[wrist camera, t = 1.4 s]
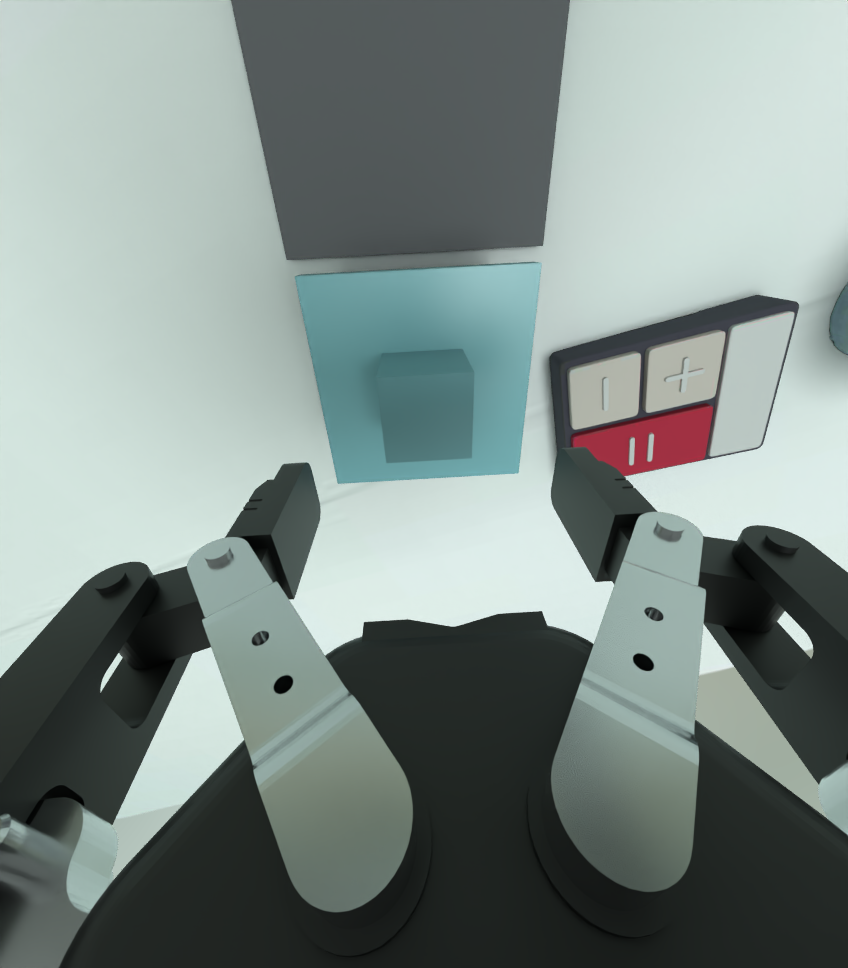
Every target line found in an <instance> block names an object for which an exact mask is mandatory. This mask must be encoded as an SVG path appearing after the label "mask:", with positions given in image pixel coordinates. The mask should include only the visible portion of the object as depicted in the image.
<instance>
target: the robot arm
mask: <svg viewBox="0 0 848 968" xmlns="http://www.w3.org/2000/svg"><path fill="white" fill-rule="evenodd" d="M551 500H552V504H553V507H554V509H555V511H556V513H557V514H558V516H559V518H560V520H561V522H562V523H563V525H564V527H565V529H566V530H567V532H568V534H569V536H570V538H571V539H572V541H573V543H574V545H575V547H576V548H577V550H578V552H579V554H580V555H581V557H582V559H583V561H584V563H585V564H586V566H587V568H588V570H589V571H590V573H591V575H592V577H593V579H594V580H595V582H602V581H612V582H613V583H614V588H613V591H612V593H611V596H610V599H609V602H608V605H607V608H606V611H605V614H604V616H603V619H602V622H601V625H600V628H599V631H598V634H597V637H596V639H595V642H594V644H593V643H591V642H589V641H588V640H586V639H584V638H582V637H580V636H578V635H576V634H574V633H571V632H568V631H566V630H563V629H559V628H556V627H552V626H547V624H546V621H545V619H544V616H543V613H542V611H539V612H523V613H506V614H497V615H493V616H490V617H487V618H483V619H480V620H477V621H473V622H470V623H467V624H464V625H460V626H456V627H450V626H444V625H438V624H432V623H426V622H420V621H414V620H392V621H375V622H364V627H363V635H362V637H360V638H356V639H354V640H352V641H349V642H347V643H345V644H343V645H341V646H339V647H337V648H336V649H334V650H333V651H331V652H330V653H328V654H327V655H326V656H325V655H324V654H323V652H322V650H321V649H320V647H319V646H318V644H317V643H316V641H315V640H314V638H313V636H312V635H311V633H310V632H309V630H308V629H307V627H306V626H305V624H304V622H303V621H302V619H301V618H300V616H299V615H298V613H297V612H296V610H295V608H294V607H293V605H292V604H291V602H290V601H289V599H294V598H295V595H296V592H297V589H298V586H299V582H300V579H301V576H302V573H303V570H304V567H305V564H306V561H307V558H308V555H309V552H310V549H311V546H312V542H313V539H314V536H315V533H316V530H317V527H318V524H319V521H320V503H319V498H318V494H317V490H316V486H315V482H314V478H313V474H312V470H311V467H310V465H309V463H291V464H283V465H282V467H281V468H280V470H279V472H278V473H277V475H276V477H275V479H274V480H267V481H266V482H265V483H263V484H262V485H261V486H259V487H258V488H257V489H255V491H254V493H253V494H252V496H251V497H250V499H249V502H247V504H246V505H245V507H244V508H243V509H244V511H242V512H241V513H240V515H239V516H238V518H237V519H236V521H235V523H234V524H233V526H232V527H231V529H230V531H229V532H228V534H227V535H226V537H225V538H222V539H218V540H215V541H213V542H211V543H208V544H206V545H205V546H203V547H201V548H200V549H199V550H197V551H196V552H195V553H194V554H193V555H192V556H191V558H190V559H189V561H188V563H187V566H186V567H182V568H179V569H175V570H171V571H168V572H164V573H160V574H157V575H153V574H152V572H151V571H150V569H149V568H148V566H147V565H146V564H144V563H141V562H128V563H123V564H119V565H116V566H113V567H111V568H108V569H106V570H104V571H102V572H100V573H99V574H97V575H95V576H94V577H92V578H91V579H90V580H88V581H87V582H86V583H85V584H84V585H83V586H82V587H81V588H80V589H79V590H78V591H77V592H76V593H75V595H74V596H73V597H72V598H71V599H70V600H69V601H68V602H67V604H66V605H65V606H64V607H63V608H62V609H61V610H60V611H59V613H58V614H57V615H56V616H55V617H54V618H53V619H52V620H51V622H50V623H49V624H48V625H47V626H46V627H45V628H44V629H43V631H42V632H41V633H40V634H39V635H38V636H37V637H36V638H35V640H34V641H33V642H32V643H31V644H30V645H29V646H28V647H27V649H26V650H25V651H24V652H23V653H22V654H21V655H20V656H19V658H18V659H17V660H16V661H15V662H14V663H13V664H12V665H11V666H10V668H9V669H8V670H7V671H6V672H5V673H4V674H3V675H2V677H1V678H0V968H848V572H846V571H845V570H844V569H842V568H841V567H840V566H839V565H837V564H836V563H835V562H834V561H832V560H831V559H830V558H829V557H827V556H826V555H825V554H823V553H822V552H821V551H820V550H818V549H817V548H816V547H815V546H813V545H812V544H811V543H809V542H808V541H806V540H805V539H803V538H801V537H799V536H797V535H795V534H793V533H790V532H788V531H785V530H782V529H778V528H775V527H769V526H759V525H757V526H749V527H747V528H745V529H744V530H743V531H742V533H741V534H740V536H739V538H738V540H737V541H732V540H725V539H718V538H711V537H704V536H703V535H702V533H701V531H700V530H699V529H698V528H697V527H696V526H695V525H694V524H693V523H691V522H689V521H688V520H686V519H684V518H682V517H679V516H676V515H673V514H669V513H664V512H657V511H656V510H655V509H654V507H653V506H652V505H651V504H650V503H649V502H648V501H647V500H646V499H645V498H644V497H643V496H642V495H641V494H640V493H639V492H638V491H637V490H636V488H633V485H632V484H631V483H630V482H629V481H628V480H626V478H625V477H624V476H623V475H622V474H621V473H620V472H619V471H618V469H616V468H615V467H613V466H611V465H609V464H607V463H606V462H604V461H598V460H597V459H596V458H595V457H594V456H593V454H592V453H591V452H590V451H589V450H588V449H587V448H586V447H571V448H560V449H559V451H558V453H557V458H556V464H555V470H554V475H553V481H552V487H551ZM784 611H786V612H787V613H788V614H789V615H790V616H791V617H792V618H793V619H794V620H795V621H796V622H797V623H798V625H799V626H800V627H801V628H802V629H803V630H804V631H805V632H806V633H807V634H808V636H809V638H810V639H811V642H812V644H813V650H814V652H813V656H812V658H811V659H810V657H809V656H808V655H807V654H806V653H805V652H804V651H803V650H802V648H801V647H800V646H799V645H798V644H797V643H796V642H795V641H794V640H793V639H792V638H791V636H790V635H789V634H788V633H787V632H786V631H785V630H784V629H783V628H782V627H781V625H780V624H779V623H778V622H777V621H778V619H779V618H780V617H781V615H782V614H783V613H784ZM703 623H704V625H705V626H706V627H707V629H708V630H709V632H710V633H711V634H712V636H713V637H714V639H715V640H716V641H717V643H718V644H719V646H720V647H721V648H722V650H723V651H724V653H725V654H726V655H727V657H728V658H729V660H730V661H731V662H732V664H733V665H734V667H735V668H736V669H737V671H738V672H739V674H740V675H741V676H742V678H743V679H744V681H745V682H746V683H747V685H748V686H749V687H750V689H751V690H752V692H753V693H754V695H755V696H756V697H757V699H758V700H759V701H760V703H761V704H762V706H763V707H764V709H765V710H766V711H767V713H768V714H769V715H770V717H771V718H772V720H773V721H774V722H775V724H776V725H777V726H778V728H779V730H780V731H781V732H782V734H783V735H784V737H785V738H786V739H787V741H788V742H789V744H790V745H791V746H792V748H793V749H794V751H795V752H796V753H797V755H798V756H799V758H800V759H801V760H802V762H803V763H804V764H805V766H806V767H807V769H808V770H809V772H810V773H811V774H812V776H813V777H814V779H815V780H816V781H817V783H818V784H819V789H818V794H819V799H820V803H821V806H822V808H823V811H824V813H825V815H826V816H827V818H828V819H827V818H826V817H824V816H823V815H822V814H820V813H819V812H818V811H816V810H815V809H813V808H812V807H811V806H810V805H808V804H807V803H806V802H804V801H803V800H802V799H800V798H799V797H798V796H796V795H795V794H794V793H792V792H791V791H790V790H788V789H787V788H786V787H784V786H783V785H782V784H780V783H779V782H778V781H776V780H775V779H774V778H772V777H771V776H770V775H768V774H767V773H765V772H764V771H763V770H762V769H760V768H759V767H758V766H756V765H755V764H754V763H752V762H751V761H750V760H748V759H747V758H746V757H744V756H743V755H742V754H740V753H739V752H737V751H736V750H735V749H734V748H732V747H731V746H730V745H728V744H727V743H726V742H724V741H723V740H722V739H720V738H719V737H718V736H716V735H715V734H713V733H712V732H711V731H710V730H708V729H707V728H706V727H704V726H703V725H702V724H700V723H699V722H698V721H696V720H695V713H696V701H697V691H698V679H699V668H700V657H701V645H702V634H703ZM209 647H211V648H212V651H213V653H214V656H215V659H216V662H217V665H218V667H219V670H220V673H221V676H222V679H223V681H224V684H225V687H226V690H227V692H228V695H229V698H230V701H231V704H232V706H233V709H234V712H235V715H236V718H237V720H238V723H239V726H240V729H241V732H242V734H243V737H244V741H243V742H242V743H241V744H240V745H239V746H238V747H237V748H236V749H235V750H234V751H233V752H232V753H231V754H230V755H229V757H228V758H227V759H226V760H225V761H224V762H223V763H222V764H221V765H220V766H219V767H218V768H217V769H216V770H215V771H214V772H213V774H212V775H211V776H210V777H209V778H208V779H207V780H206V781H205V782H204V783H203V784H202V785H201V786H200V787H199V788H198V790H197V791H196V792H195V793H194V794H193V795H192V796H191V797H190V798H189V799H188V800H187V801H186V802H185V803H184V804H183V806H182V807H181V808H180V809H179V810H178V811H177V812H176V813H175V814H174V815H173V816H172V817H171V818H170V819H169V820H168V821H167V823H166V824H165V825H164V826H163V827H162V828H161V829H160V830H159V831H158V832H157V833H156V834H155V835H154V836H153V838H151V840H150V841H149V842H148V843H147V844H146V845H145V846H144V847H143V848H142V849H141V850H140V851H139V852H138V853H137V855H136V856H135V857H134V858H133V859H132V860H131V861H130V862H129V863H128V864H127V865H126V866H125V867H124V869H123V870H122V871H121V872H120V873H119V874H118V875H117V877H116V878H115V879H114V880H113V872H112V869H113V866H114V863H115V860H116V856H117V850H118V838H117V833H116V831H115V828H114V827H113V826H112V825H113V822H114V820H115V818H116V816H117V814H118V812H119V810H120V808H121V805H122V803H123V801H124V799H125V797H126V795H127V793H128V790H129V788H130V786H131V784H132V782H133V780H134V778H135V775H136V773H137V771H138V769H139V767H140V765H141V763H142V760H143V758H144V756H145V754H146V752H147V750H148V748H149V746H150V743H151V741H152V739H153V737H154V735H155V733H156V731H157V728H158V726H159V724H160V722H161V720H162V718H163V716H164V713H165V711H166V709H167V707H168V705H169V703H170V701H171V699H172V696H173V694H174V692H175V690H176V688H177V686H178V684H179V681H180V679H181V677H182V675H183V673H184V671H185V669H186V666H187V664H188V662H189V660H190V658H191V656H192V654H193V653H195V652H198V651H201V650H203V649H206V648H209ZM118 653H120V655H121V656H122V657H123V658H122V660H121V662H120V663H119V665H118V666H117V668H116V669H115V671H114V673H113V674H112V676H111V677H110V679H109V681H108V682H107V684H106V685H105V687H104V688H103V690H102V692H101V693H100V687H101V682H102V679H103V677H104V674H105V673H106V671H107V670H108V668H109V666H110V665H111V663H112V662H113V660H114V659H115V657H116V656H117V654H118Z"/></svg>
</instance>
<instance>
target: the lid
mask: <svg viewBox="0 0 848 968" xmlns="http://www.w3.org/2000/svg"><path fill="white" fill-rule="evenodd" d="M541 265H542V263H539V262H521V263H503V264H485V265H467V266H449V267H431V268H413V269H395V270H377V271H359V272H341V273H323V274H304V275H298V276H295V280H296V285H297V290H298V295H299V300H300V304H301V309H302V314H303V319H304V324H305V328H306V333H307V338H308V343H309V348H310V352H311V357H312V362H313V367H314V371H315V376H316V381H317V386H318V391H319V395H320V400H321V405H322V410H323V415H324V419H325V424H326V429H327V434H328V439H329V443H330V448H331V453H332V458H333V463H334V467H335V472H336V477H337V482H338V484H341V483H359V482H376V481H393V480H410V479H428V478H445V477H462V476H480V475H497V474H514V473H518V472H519V463H520V454H521V445H522V436H523V427H524V418H525V409H526V400H527V391H528V382H529V373H530V364H531V355H532V346H533V337H534V328H535V319H536V310H537V301H538V292H539V283H540V274H541Z"/></svg>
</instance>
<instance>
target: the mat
mask: <svg viewBox="0 0 848 968" xmlns="http://www.w3.org/2000/svg"><path fill="white" fill-rule="evenodd" d="M231 2H232V6H233V11H234V16H235V20H236V25H237V30H238V34H239V39H240V44H241V48H242V53H243V58H244V62H245V67H246V72H247V76H248V81H249V86H250V90H251V95H252V100H253V104H254V109H255V114H256V118H257V123H258V128H259V132H260V137H261V142H262V146H263V151H264V156H265V160H266V165H267V170H268V174H269V179H270V184H271V188H272V193H273V198H274V202H275V207H276V212H277V216H278V221H279V226H280V230H281V235H282V240H283V244H284V249H285V254H286V258H287V260H294V259H312V258H331V257H349V256H367V255H385V254H403V253H421V252H439V251H457V250H475V249H493V248H511V247H529V246H543V240H544V231H545V221H546V212H547V203H548V194H549V185H550V176H551V167H552V158H553V149H554V140H555V131H556V121H557V112H558V103H559V94H560V85H561V76H562V67H563V58H564V49H565V40H566V30H567V21H568V12H569V3H570V0H231Z"/></svg>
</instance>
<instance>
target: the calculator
mask: <svg viewBox="0 0 848 968" xmlns="http://www.w3.org/2000/svg"><path fill="white" fill-rule="evenodd" d="M798 309H799V304H798V303H797V302H795V301H790V300H784V299H778V298H772V297H767V296H761V295H755V296H751V297H748V298H744V299H740V300H737V301H733V302H730V303H726V304H723V305H719V306H716V307H712V308H709V309H705V310H702V311H699V312H697V313H695V314H692V315H688V316H684V317H680V318H677V319H673V320H669V321H665V322H662V323H658V324H654V325H650V326H647V327H643V328H639V329H635V330H631V331H628V332H624V333H620V334H617V335H613V336H610V337H606V338H602V339H599V340H595V341H592V342H588V343H585V344H581V345H577V346H574V347H570V348H567V349H563V350H560V351H556V352H554V353H552V354H551V356H550V372H551V383H552V395H553V407H554V419H555V431H556V442H557V453H558V451H559V449H560V448H571V447H586V448H587V449H588V450H589V451H590V452H591V453H592V454H593V456H594V457H595V458H596V459H597V460H598V461H604V462H606V463H607V464H609V465H611V466H613V467H615V468H616V469H618V471H619V472H620V473H621V474H622V475H623V476H629V475H633V474H638V473H643V472H648V471H653V470H658V469H663V468H667V467H672V466H677V465H682V464H687V463H692V462H696V461H701V460H706V459H711V458H716V457H721V456H725V455H730V454H735V453H740V452H745V451H750V450H754V449H758V448H760V447H761V446H762V445H763V442H764V438H765V435H766V431H767V427H768V423H769V419H770V416H771V412H772V408H773V404H774V400H775V397H776V393H777V389H778V385H779V381H780V378H781V374H782V370H783V366H784V362H785V358H786V355H787V351H788V347H789V343H790V339H791V336H792V332H793V328H794V324H795V320H796V317H797V313H798Z"/></svg>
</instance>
